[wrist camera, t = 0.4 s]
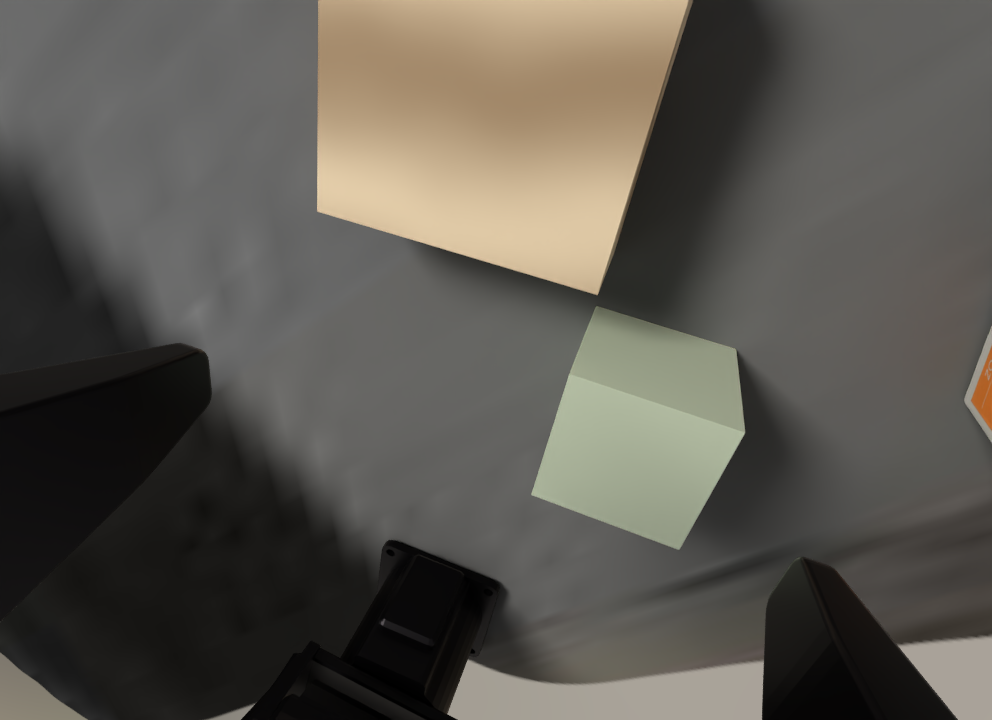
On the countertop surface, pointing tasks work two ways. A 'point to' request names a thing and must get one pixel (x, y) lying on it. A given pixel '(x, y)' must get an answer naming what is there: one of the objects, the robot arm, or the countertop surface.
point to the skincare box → (982, 389)
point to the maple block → (493, 123)
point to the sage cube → (643, 427)
